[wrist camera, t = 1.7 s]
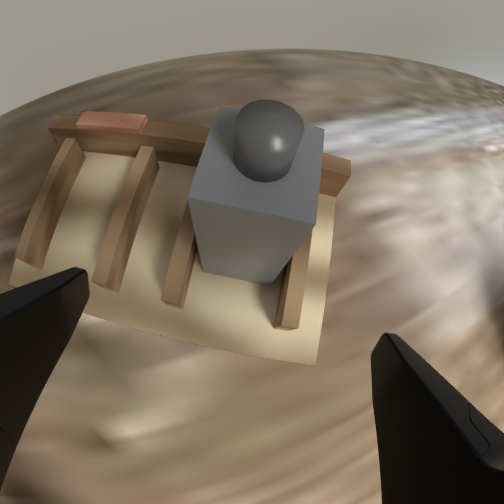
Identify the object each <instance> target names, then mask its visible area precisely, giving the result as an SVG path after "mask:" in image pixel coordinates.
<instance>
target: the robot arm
mask: <svg viewBox="0 0 504 504" xmlns="http://www.w3.org/2000/svg"><path fill="white" fill-rule="evenodd" d="M89 296H90V289H89V280H88V273H87V271H86V270H85V269H82V268H78V267H72V268H70V269H67V270H64V271H61V272H58V273H55V274H53V275H50V276H47V277H44V278H42V279H39V280H36V281H33V282H31V283H28V284H25V285H23V286H20V287H17V288H15V289H12V290H9V291H7V292H4V293H2V294H0V490H1V487H2V484H3V481H4V478H5V476H6V473H7V470H8V467H9V465H10V462H11V460H12V457H13V455H14V452H15V450H16V446H17V444H18V442H19V440H20V437H21V435H22V433H23V430H24V428H25V426H26V424H27V421H28V419H29V417H30V415H31V413H32V411H33V409H34V406H35V404H36V402H37V400H38V398H39V396H40V394H41V392H42V390H43V388H44V386H45V384H46V382H47V380H48V379H49V377H50V375H51V373H52V371H53V369H54V367H55V365H56V364H57V362H58V360H59V358H60V356H61V355H62V353H63V351H64V349H65V347H66V346H67V344H68V342H69V340H70V338H71V336H72V334H73V332H74V330H75V328H76V325H77V323H78V321H79V319H80V317H81V315H82V312H83V310H84V308H85V306H86V304H87V302H88V300H89ZM371 375H372V398H373V408H374V416H375V424H376V432H377V442H378V452H379V463H380V476H381V492H382V504H504V433H503V432H502V431H501V430H499V429H498V428H497V427H496V426H495V425H494V424H493V423H491V422H490V421H489V420H488V419H487V418H486V417H485V416H484V415H483V414H482V413H480V412H479V411H478V410H477V409H476V408H475V407H474V406H473V405H472V404H471V403H470V402H468V400H467V399H466V398H465V397H464V396H463V395H462V394H461V393H460V392H458V391H457V390H456V389H455V388H454V387H453V386H452V385H451V384H450V383H449V382H448V381H447V380H446V379H445V378H444V377H443V376H442V375H440V374H439V373H438V372H437V371H436V370H435V369H434V368H433V367H432V366H431V365H430V364H429V363H428V362H427V361H425V360H424V359H423V358H422V357H421V356H420V355H419V354H418V353H417V352H416V351H415V350H413V349H412V348H411V347H410V346H409V345H408V344H407V343H406V342H405V341H404V340H402V339H401V338H400V337H399V336H398V335H397V334H394V333H384V334H382V336H381V337H380V339H379V341H378V343H377V344H376V346H375V348H374V349H373V351H372V354H371Z"/></svg>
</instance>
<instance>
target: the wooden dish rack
mask: <svg viewBox="0 0 504 504" xmlns="http://www.w3.org/2000/svg"><path fill="white" fill-rule="evenodd" d="M48 129H49V130H50V132H51V133H52V135H53V137H54V138H55V140H56V141H57V143H58V144H59V146H60V147H61V148H60V150H59V152H58V153H57V155H56V157H55V159H54V161H53V163H52V165H51V167H50V169H49V171H48V173H47V175H46V177H45V179H44V182H43V184H42V186H41V188H40V190H39V193H38V195H37V197H36V199H35V202H34V204H33V206H32V209H31V211H30V214H29V216H28V219H27V221H26V224H25V227H24V229H23V232H22V235H21V238H20V241H19V243H18V246H17V249H16V252H15V256H14V257H16V259H15V262H14V266H13V269H12V272H11V276H10V279H9V283H8V284H9V285H11V286H14V287H16V288H17V287H20V286H23V285H25V284H28V283H31V282H33V281H36V280H39V279H42V278H44V277H47V276H50V275H53V274H55V273H58V272H61V271H64V270H67V269H70V268H72V267H78V268H82V269H85V270H86V271H87V273H88V280H89V289H90V296H89V300H88V302H87V304H86V306H85V308H84V310H83V313H86V314H89V315H92V316H95V317H98V318H102V319H105V320H108V321H111V322H115V323H118V324H121V325H125V326H128V327H132V328H135V329H139V330H142V331H146V332H150V333H153V334H157V335H161V336H165V337H169V338H173V339H177V340H181V341H185V342H189V343H194V344H198V345H202V346H207V347H211V348H216V349H221V350H226V351H231V352H236V353H241V354H246V355H252V356H257V357H263V358H269V359H275V360H281V361H288V362H295V363H302V364H309V365H315V363H316V357H317V352H318V345H319V339H320V333H321V326H322V320H323V313H324V305H325V298H326V290H327V282H328V274H329V265H330V256H331V246H332V236H333V225H334V212H335V199H336V196H337V195H338V193H339V192H340V191H341V189H342V188H343V186H344V185H345V184H346V182H347V181H348V179H349V178H350V176H351V161H350V160H347V159H344V158H340V157H337V156H333V155H329V154H326V153H323V155H322V168H321V179H320V190H319V200H318V209H317V219H316V225H315V226H314V228H313V229H312V230H311V232H310V233H309V234H308V236H307V237H306V238H305V240H304V241H303V242H302V244H301V245H300V246H299V248H298V249H297V251H296V252H295V253H294V255H293V256H292V257H291V259H290V260H289V261H288V263H287V264H286V265H285V266H284V268H283V269H282V270H281V272H280V273H279V274H278V276H277V277H276V278H275V280H274V281H273V282H272V284H271V285H270V286H268V285H263V284H258V283H253V282H248V281H244V280H239V279H234V278H229V277H224V276H220V275H215V274H210V273H206V272H203V268H202V264H201V259H200V255H199V250H198V246H197V241H196V236H195V232H194V227H193V222H192V217H191V212H190V207H189V202H188V194H189V191H190V188H191V185H192V181H193V178H194V175H195V172H196V169H197V166H198V163H199V160H200V157H201V154H202V152H203V149H204V146H205V143H206V140H207V137H208V135H209V132H210V128H203V127H197V126H190V125H183V124H175V123H167V122H159V121H149V120H147V116H146V115H141V114H129V113H115V112H95V111H84V112H83V114H82V115H81V116H72V115H56V116H55V117H54V119H53V121H52V122H51V124H50V125H49V127H48Z"/></svg>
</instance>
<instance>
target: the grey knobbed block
mask: <svg viewBox="0 0 504 504" xmlns="http://www.w3.org/2000/svg"><path fill="white" fill-rule="evenodd" d="M323 142H324V129H322V128H319V127H315V126H311V125H307V124H304V122H303V120H302V118H301V116H300V115H299V114H298V113H297V112H296V111H295V110H294V109H293V108H291V107H290V106H288V105H286V104H284V103H281V102H278V101H274V100H258V101H254V102H251V103H249V104H247V105H245V106H244V107H243V108H242V109H241V110H238V109H232V108H226V107H220V106H219V107H218V110H217V113H216V115H215V118H214V121H213V124H212V126H211V129H210V132H209V135H208V137H207V140H206V143H205V146H204V149H203V152H202V154H201V157H200V160H199V163H198V166H197V169H196V172H195V175H194V178H193V181H192V185H191V188H190V191H189V194H188V202H189V207H190V212H191V217H192V222H193V227H194V232H195V236H196V241H197V246H198V250H199V255H200V259H201V264H202V268H203V272H206V273H210V274H215V275H220V276H224V277H229V278H234V279H239V280H244V281H248V282H253V283H258V284H263V285H268V286H270V285H271V284H272V282H273V281H274V280H275V278H276V277H277V276H278V274H279V273H280V272H281V270H282V269H283V268H284V266H285V265H286V264H287V263H288V261H289V260H290V259H291V257H292V256H293V255H294V253H295V252H296V251H297V249H298V248H299V246H300V245H301V244H302V242H303V241H304V240H305V238H306V237H307V236H308V234H309V233H310V232H311V230H312V229H313V228H314V226H315V225H316V219H317V209H318V200H319V190H320V179H321V168H322V155H323Z"/></svg>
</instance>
